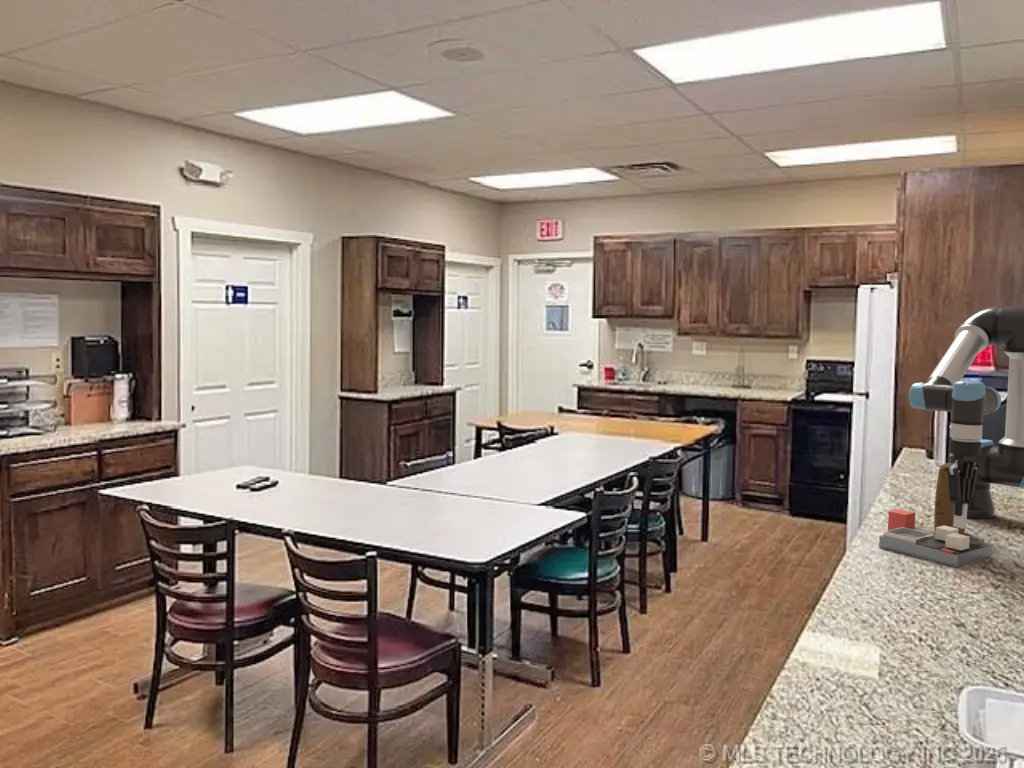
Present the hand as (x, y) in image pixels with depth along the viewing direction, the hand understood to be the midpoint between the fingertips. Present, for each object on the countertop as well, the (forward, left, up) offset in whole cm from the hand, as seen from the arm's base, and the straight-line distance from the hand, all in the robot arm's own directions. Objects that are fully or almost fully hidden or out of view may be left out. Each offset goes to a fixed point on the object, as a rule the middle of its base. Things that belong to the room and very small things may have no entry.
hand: (959, 527), depth 227 cm
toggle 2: (+11, +5, -2) cm, 13 cm away
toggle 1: (+6, 0, -2) cm, 7 cm away
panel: (+8, -2, -6) cm, 10 cm away
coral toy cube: (+1, -16, -6) cm, 17 cm away
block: (-14, -10, -6) cm, 18 cm away
